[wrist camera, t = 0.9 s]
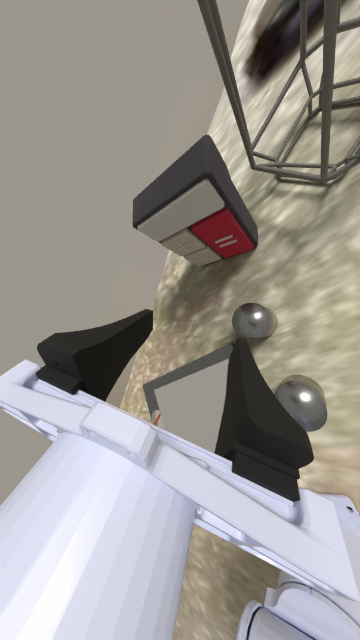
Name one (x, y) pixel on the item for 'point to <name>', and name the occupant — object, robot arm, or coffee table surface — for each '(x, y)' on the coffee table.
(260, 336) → the cylinder
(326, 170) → the geometric lantern
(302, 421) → the cylinder
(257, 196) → the coffee table surface
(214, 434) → the pan
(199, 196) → the grey and red box
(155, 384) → the base
